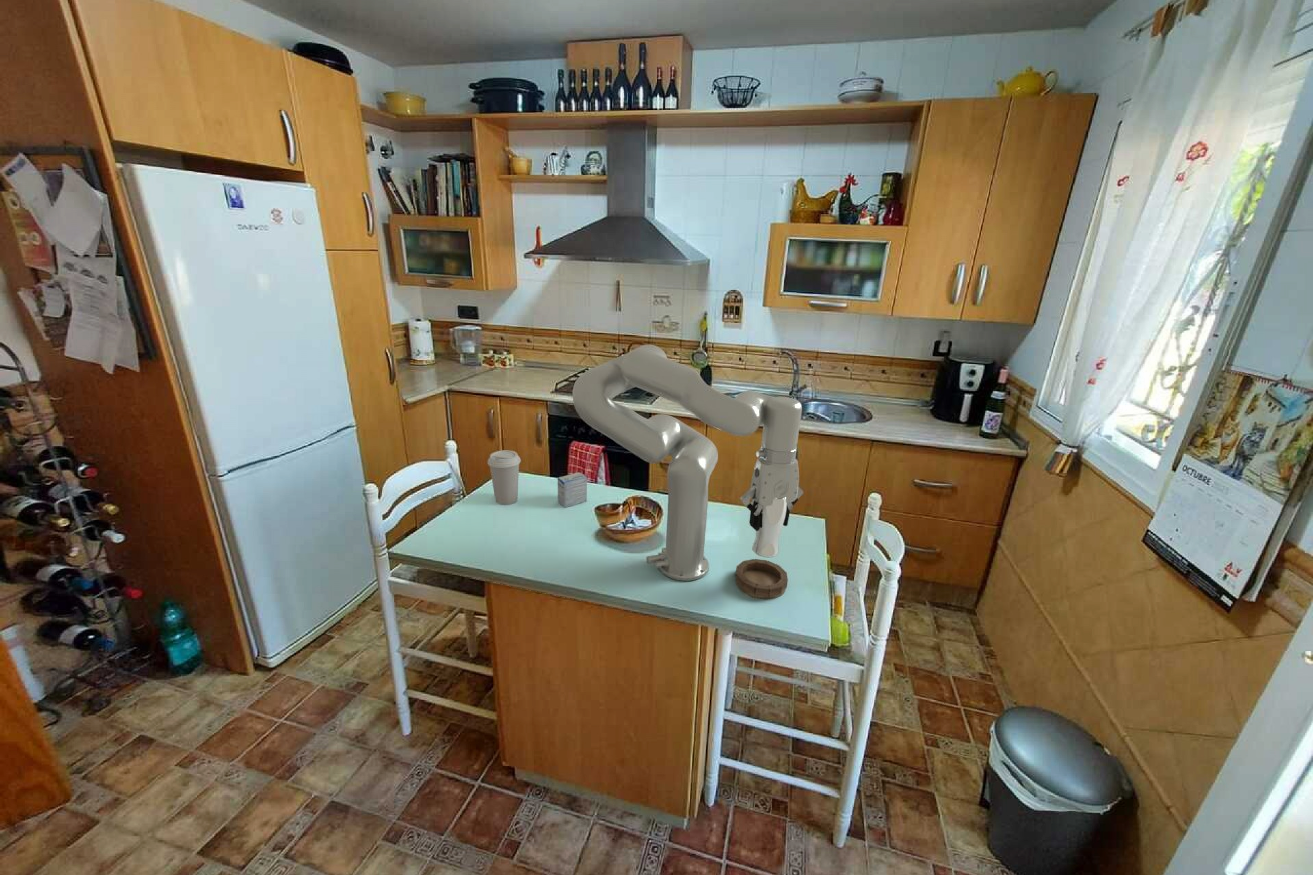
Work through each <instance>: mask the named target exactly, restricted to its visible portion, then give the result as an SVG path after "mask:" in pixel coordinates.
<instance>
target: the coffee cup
mask: <svg viewBox="0 0 1313 875" xmlns="http://www.w3.org/2000/svg"><path fill="white" fill-rule="evenodd" d="M521 462H522V461H521V457H520V456H519V455H518V452H516V451H515V450H505V449H503V450H498V451H495V452H492V453H490V454H489V457H488V459H487V465H488V466H489V469H490V476H491V482H492V487H493V492H494V493H493V494H494V498H495V499H494V500H495V503H496V504H498V505H500V506H508V505H513V504H515V503H516V502H518V496H519V495H518V493H519V492H518V491H519V471H520V470H519V469H520V463H521Z"/></svg>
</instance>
